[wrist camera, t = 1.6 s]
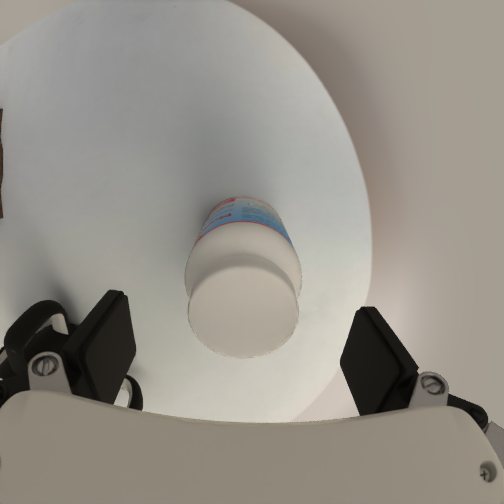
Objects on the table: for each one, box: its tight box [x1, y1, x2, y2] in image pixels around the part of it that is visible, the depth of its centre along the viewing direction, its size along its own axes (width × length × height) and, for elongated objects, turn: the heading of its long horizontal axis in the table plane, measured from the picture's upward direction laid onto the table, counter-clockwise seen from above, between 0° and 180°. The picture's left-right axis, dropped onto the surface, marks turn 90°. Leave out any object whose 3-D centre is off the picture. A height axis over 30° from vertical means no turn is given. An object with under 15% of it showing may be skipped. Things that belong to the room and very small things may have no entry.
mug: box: [0, 300, 143, 411], centre depth 20 cm, size 16×16×12 cm
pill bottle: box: [185, 197, 302, 358], centre depth 16 cm, size 6×6×11 cm
